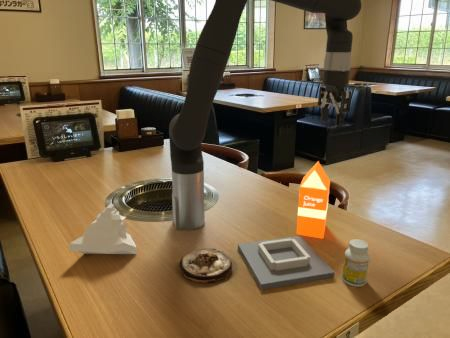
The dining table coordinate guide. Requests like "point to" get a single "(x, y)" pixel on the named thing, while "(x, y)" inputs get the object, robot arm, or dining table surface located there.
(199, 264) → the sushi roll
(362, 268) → the supplement bottle
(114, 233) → the white jagged pyramid
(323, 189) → the orange juice
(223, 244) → the dining table surface
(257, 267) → the socket board
